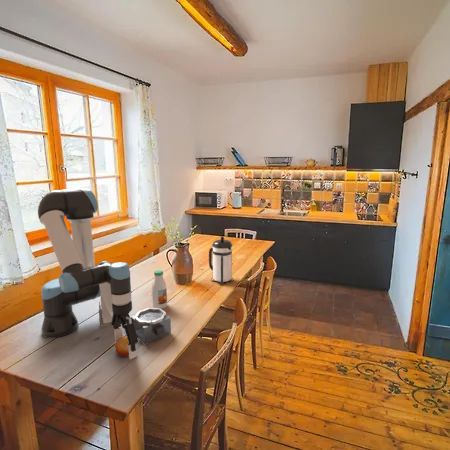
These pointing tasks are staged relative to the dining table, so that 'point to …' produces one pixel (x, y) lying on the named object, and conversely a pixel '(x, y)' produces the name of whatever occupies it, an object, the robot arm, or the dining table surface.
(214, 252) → the coffee press
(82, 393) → the dining table surface
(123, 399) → the dining table surface
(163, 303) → the milk bottle
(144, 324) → the grey octagonal pot
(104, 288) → the skyscraper
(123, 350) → the fruit
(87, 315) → the dining table surface
